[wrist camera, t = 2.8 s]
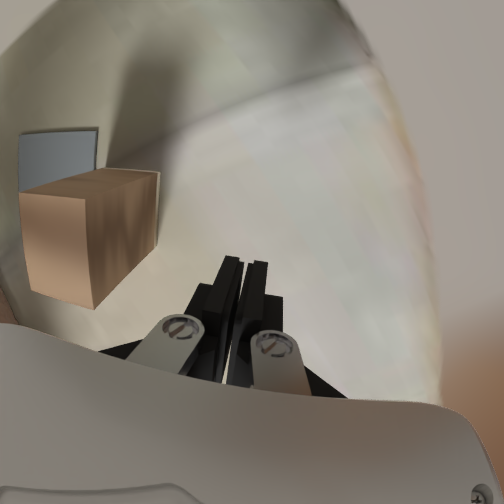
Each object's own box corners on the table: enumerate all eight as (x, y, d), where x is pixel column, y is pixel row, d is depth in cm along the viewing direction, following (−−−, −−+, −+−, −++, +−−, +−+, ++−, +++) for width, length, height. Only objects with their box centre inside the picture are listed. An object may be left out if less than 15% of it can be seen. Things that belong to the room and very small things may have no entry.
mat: (97, 266, 25) (95, 267, 24) (25, 249, 25) (24, 250, 25) (97, 131, 20) (95, 131, 20) (21, 134, 20) (19, 135, 20)
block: (156, 245, 24) (93, 310, 14) (104, 236, 24) (31, 290, 14) (160, 171, 21) (85, 199, 12) (105, 167, 21) (18, 192, 12)
